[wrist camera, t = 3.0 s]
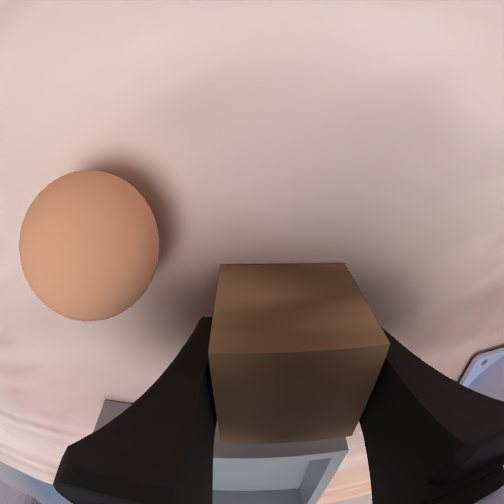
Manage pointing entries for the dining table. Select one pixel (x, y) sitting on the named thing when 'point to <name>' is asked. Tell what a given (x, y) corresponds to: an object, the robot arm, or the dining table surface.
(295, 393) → the cube
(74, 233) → the ball
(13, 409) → the dining table surface
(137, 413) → the robot arm
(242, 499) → the tray
